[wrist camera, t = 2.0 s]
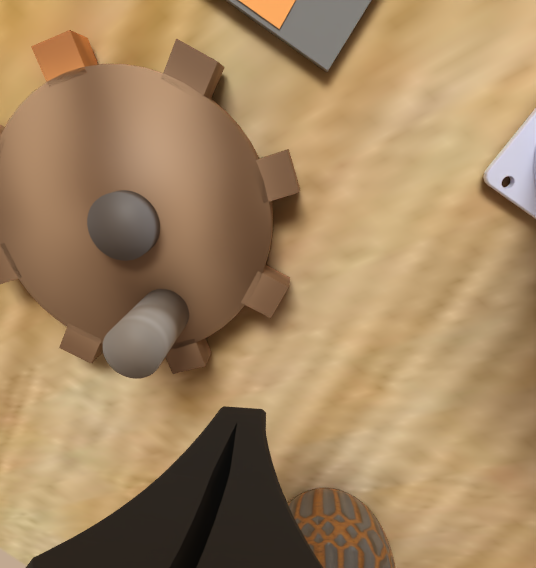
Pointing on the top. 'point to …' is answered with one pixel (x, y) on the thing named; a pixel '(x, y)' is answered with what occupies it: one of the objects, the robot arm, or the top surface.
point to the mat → (308, 24)
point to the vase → (341, 530)
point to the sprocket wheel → (137, 207)
